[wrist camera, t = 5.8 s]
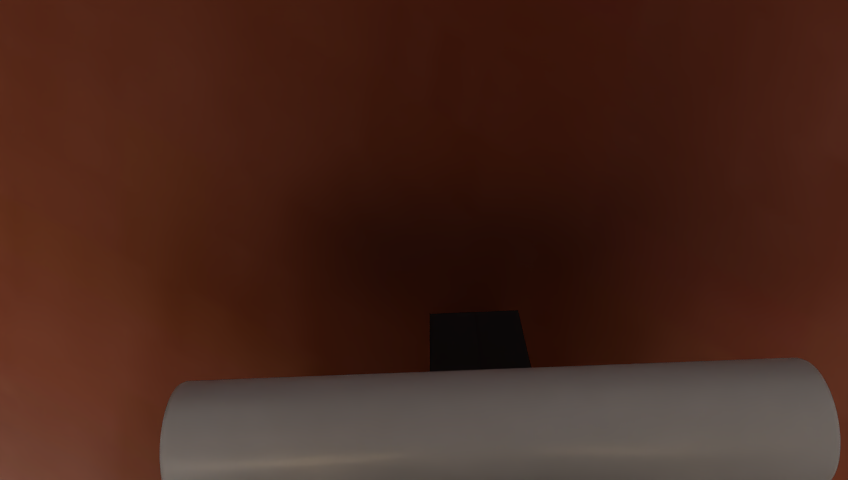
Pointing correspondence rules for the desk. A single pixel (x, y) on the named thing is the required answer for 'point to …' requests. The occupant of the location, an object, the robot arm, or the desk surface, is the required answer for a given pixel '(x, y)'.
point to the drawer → (511, 424)
